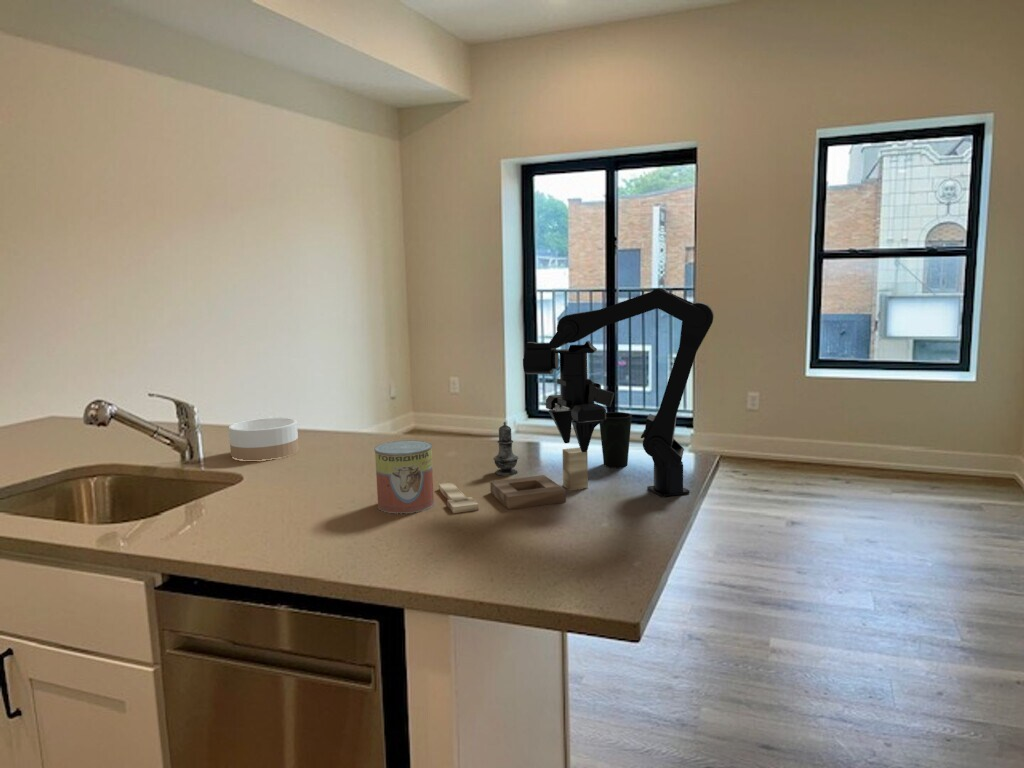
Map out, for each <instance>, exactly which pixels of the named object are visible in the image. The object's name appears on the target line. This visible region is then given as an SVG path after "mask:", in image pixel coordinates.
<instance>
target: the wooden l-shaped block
mask: <svg viewBox="0 0 1024 768" xmlns="http://www.w3.org/2000/svg"><path fill="white" fill-rule="evenodd" d="M438 491H440V493H441V494H442V495H443V496H444V497H445V499H446V500H447V501H446V503H447V504H446V505H447V507H448V509H449V510H450V511H451V512H452V514H457V513H465V512H467V513H468V512H473V511H479V503H478V502H477V501H476V500H475V499H474V498H473V497H472V496H469V497H467V496H466V495H465V494H464V493H463V492H462V491H461V490H460V489H459V488H458V487H457V486H456V484H454V483H453V482H444V483H443V482H442V483H438Z"/></svg>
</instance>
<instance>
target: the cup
mask: <svg viewBox="0 0 1024 768" xmlns="http://www.w3.org/2000/svg"><path fill="white" fill-rule="evenodd" d="M632 417H633V415H632V414H631V413H628V412H622V411H609V412H606V419H605V420H603V422H602V423H599V432H600V441H601V451H602V459H603V466H604V465H606V466H609V467H608V468H611V467H616V468H620V467H621V468H626V467H628V464H629V462H628V461H629V451H630V440H631V430H632V429H631V428H632ZM606 466H605V467H606Z"/></svg>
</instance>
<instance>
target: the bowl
mask: <svg viewBox="0 0 1024 768" xmlns="http://www.w3.org/2000/svg"><path fill="white" fill-rule="evenodd" d="M228 439H229V445H230V446H229V447H230V457H231V456H232V457H234V458H237V459H243V460H262V459H271V458H278V457H283V456H287V455H290V454H294V453H295V452H297V451H298V450H300V449H299V433H298V421H297V420H296V419H294V418H288V417H265V418H264V417H263V418H254V419H247V420H246V419H245V420H242V421H238V422H235V423H232V424H230V425H229V426H228ZM298 452H299V451H298Z"/></svg>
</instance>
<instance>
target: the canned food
mask: <svg viewBox="0 0 1024 768" xmlns="http://www.w3.org/2000/svg"><path fill="white" fill-rule="evenodd" d="M432 448H433V445H432V444H431V443H430V442H428V441H424V440H397V441H396V440H395V441H390V442H385V443H382V444H381V443H380V444H378V445H376V446H375V447H374V456H375V472H376V473H375V475H376V490H377V491H376V492H377V510H379V511H380V510H381V511H380V512H382V511H384V512H383V513H385V512H388V513H387V514H390V513H397V514H396V515H399V514H398V513H401V514H400V515H403V514H402V513H410V514H414V513H413V512H416V513H420V511H421V512H424V511H427V510H429V509H431V508H433V507H434V506H435V499H434V498H435V497H434V477H433V470H434V469H433V453H432V451H433V450H432Z"/></svg>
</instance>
